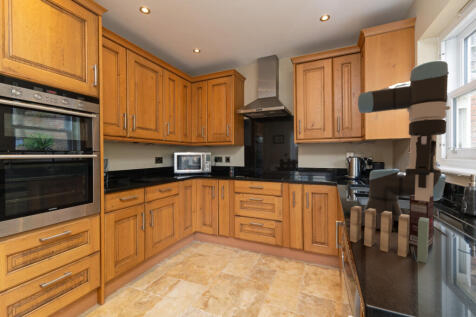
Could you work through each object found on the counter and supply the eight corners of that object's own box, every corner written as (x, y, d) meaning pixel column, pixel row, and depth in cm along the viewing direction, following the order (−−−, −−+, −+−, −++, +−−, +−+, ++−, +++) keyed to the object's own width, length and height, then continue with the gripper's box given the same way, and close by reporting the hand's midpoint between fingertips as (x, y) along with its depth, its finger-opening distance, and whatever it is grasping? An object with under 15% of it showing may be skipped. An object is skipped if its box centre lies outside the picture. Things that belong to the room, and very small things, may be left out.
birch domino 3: (383, 245, 64) (385, 210, 64) (390, 247, 62) (392, 212, 62) (380, 249, 60) (381, 213, 60) (387, 251, 59) (388, 214, 59)
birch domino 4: (400, 249, 61) (401, 213, 61) (408, 252, 59) (409, 215, 59) (397, 254, 57) (398, 216, 57) (405, 257, 56) (407, 218, 56)
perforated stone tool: (349, 225, 82) (350, 209, 82) (350, 222, 87) (350, 206, 87) (395, 234, 74) (396, 215, 74) (394, 230, 79) (394, 212, 79)
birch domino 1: (354, 237, 70) (355, 205, 70) (360, 238, 69) (361, 206, 69) (349, 240, 67) (350, 207, 67) (355, 242, 65) (356, 208, 65)
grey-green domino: (419, 255, 58) (420, 217, 58) (427, 257, 56) (429, 218, 56) (417, 260, 54) (418, 220, 54) (426, 263, 53) (427, 222, 53)
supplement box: (414, 237, 71) (416, 193, 71) (433, 242, 67) (434, 195, 67) (407, 243, 66) (409, 195, 66) (427, 248, 62) (428, 197, 62)
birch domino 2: (368, 240, 67) (369, 208, 67) (375, 242, 66) (376, 209, 66) (364, 245, 63) (365, 210, 63) (370, 246, 62) (371, 211, 62)
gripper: (445, 111, 44) (442, 207, 44) (447, 124, 61) (444, 193, 61) (401, 115, 49) (399, 201, 50) (414, 126, 66) (412, 190, 67)
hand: (424, 197), depth 56 cm, fingers open, 13 cm apart
